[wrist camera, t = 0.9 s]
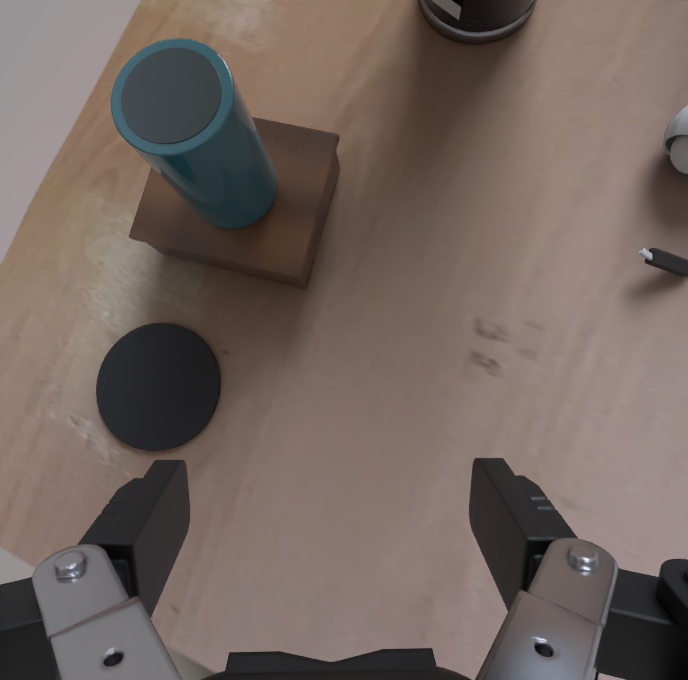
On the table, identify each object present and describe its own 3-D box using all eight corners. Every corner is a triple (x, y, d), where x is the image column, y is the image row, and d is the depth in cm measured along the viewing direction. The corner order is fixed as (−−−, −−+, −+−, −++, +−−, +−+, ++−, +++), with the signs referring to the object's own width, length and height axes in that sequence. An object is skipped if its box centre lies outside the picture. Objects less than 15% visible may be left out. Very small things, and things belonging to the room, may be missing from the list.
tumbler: (204, 135, 35) (132, 27, 25) (288, 152, 34) (248, 48, 24) (177, 218, 34) (92, 140, 25) (263, 238, 34) (211, 166, 24)
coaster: (121, 311, 39) (118, 310, 38) (235, 340, 37) (234, 340, 37) (82, 431, 38) (79, 431, 37) (199, 465, 36) (197, 466, 36)
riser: (196, 135, 40) (172, 100, 36) (344, 165, 39) (339, 134, 34) (157, 256, 39) (128, 236, 35) (309, 293, 37) (298, 277, 33)
